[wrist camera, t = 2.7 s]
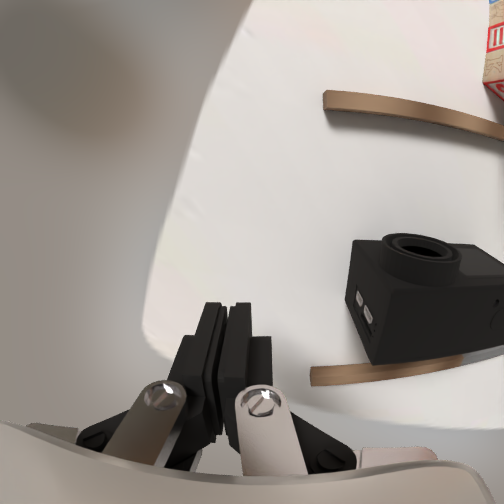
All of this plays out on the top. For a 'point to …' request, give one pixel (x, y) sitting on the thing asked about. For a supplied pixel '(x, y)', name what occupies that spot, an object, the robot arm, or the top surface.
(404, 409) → the top surface
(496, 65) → the stack of blocks
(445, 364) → the shelf lane
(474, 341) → the digital camera
